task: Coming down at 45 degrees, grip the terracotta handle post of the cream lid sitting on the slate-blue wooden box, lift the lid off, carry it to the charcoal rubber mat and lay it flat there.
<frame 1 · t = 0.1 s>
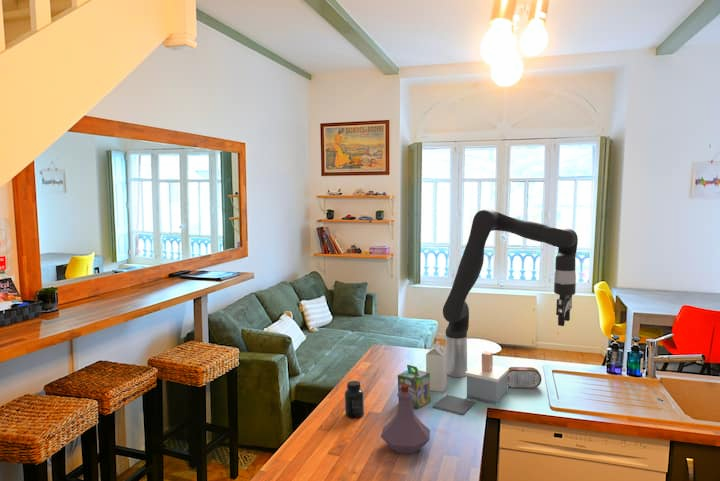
hand: (563, 323, 186), 29 cm above the kitchen counter, tool pointing down, fingers open, 8 cm apart
box: (487, 395, 191), on the kitchen counter
flask: (405, 447, 154), on the kitchen counter
green handled carton: (414, 402, 186), on the kitchen counter
supplement bottle: (354, 415, 177), on the kitchen counter
milk carton: (436, 388, 199), on the kitchen counter
tin: (522, 388, 198), on the kitchen counter
mat: (454, 405, 183), on the kitchen counter
lid: (487, 373, 190), point 9 cm above the kitchen counter, touching box
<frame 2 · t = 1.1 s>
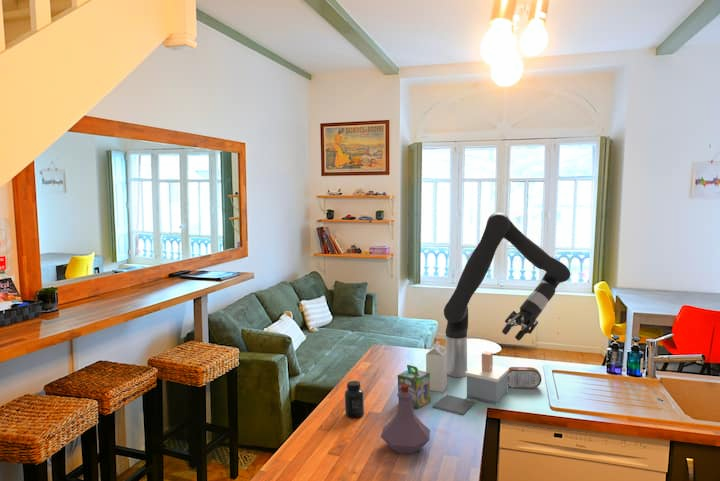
hand: (510, 336, 192), 23 cm above the kitchen counter, tool tilted 45°, fingers open, 8 cm apart
nothing on the kitchen counter moved.
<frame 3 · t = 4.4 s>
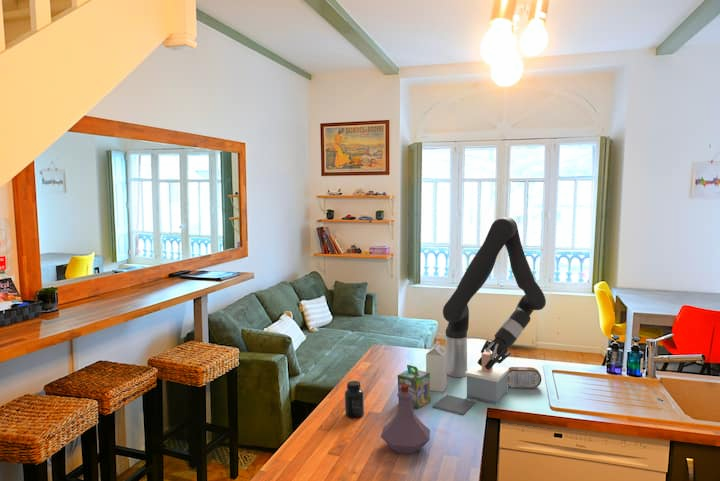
hand: (483, 366, 189), 12 cm above the kitchen counter, tool tilted 45°, fingers closed on lid, 4 cm apart
lid: (487, 373, 190), point 9 cm above the kitchen counter, touching box, gripper
everything else where it was.
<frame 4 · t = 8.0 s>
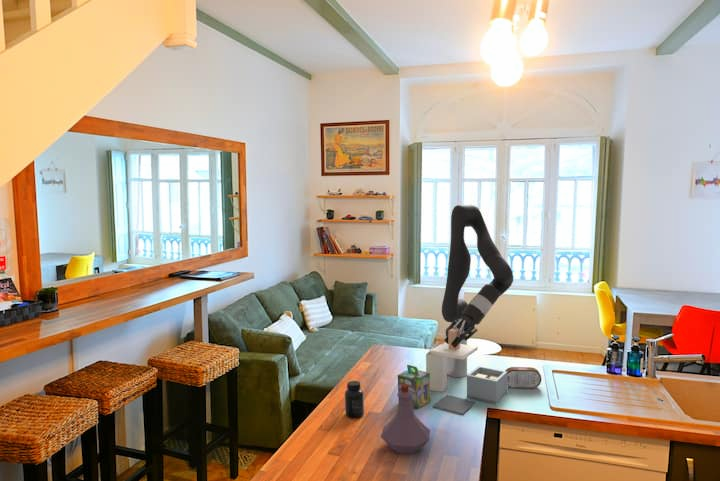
hand: (449, 344, 180), 24 cm above the kitchen counter, tool tilted 45°, fingers closed on lid, 4 cm apart
lid: (454, 351, 181), point 21 cm above the kitchen counter, touching gripper
everything else where it was.
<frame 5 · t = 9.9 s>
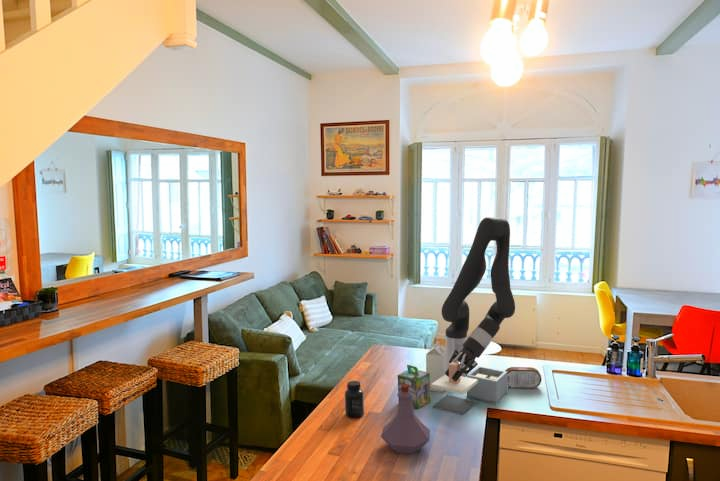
hand: (450, 377, 181), 11 cm above the kitchen counter, tool tilted 45°, fingers closed on lid, 4 cm apart
lid: (454, 384, 182), point 8 cm above the kitchen counter, touching gripper
everything else where it was.
when the fingers open (5 cm above the kitchen counter, at t = 11.6 s): lid drops 1 cm, resting on mat.
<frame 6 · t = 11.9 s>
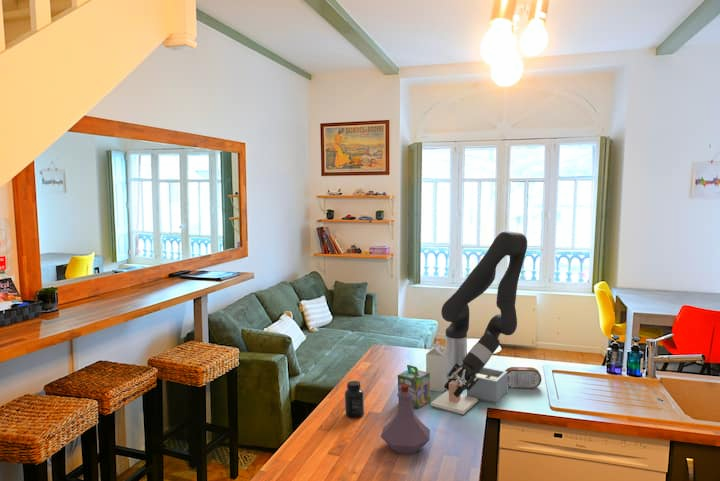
hand: (450, 392, 182), 5 cm above the kitchen counter, tool tilted 45°, fingers open, 6 cm apart
lid: (454, 403, 183), point 1 cm above the kitchen counter, touching mat
everything else where it was.
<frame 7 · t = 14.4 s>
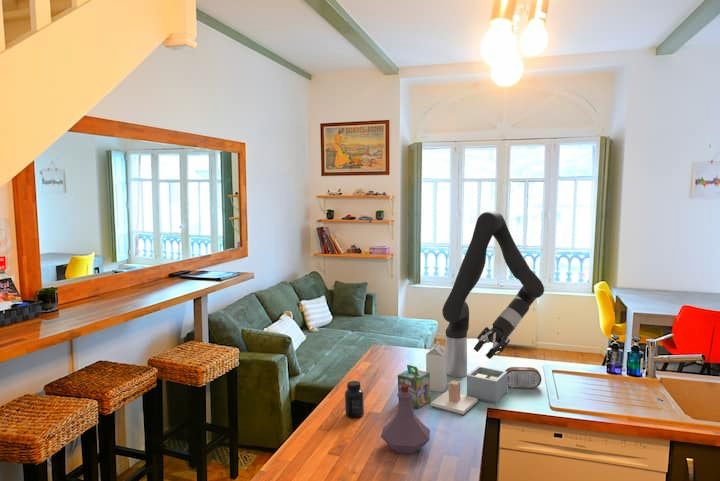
hand: (481, 353, 186), 18 cm above the kitchen counter, tool tilted 45°, fingers open, 8 cm apart
nothing on the kitchen counter moved.
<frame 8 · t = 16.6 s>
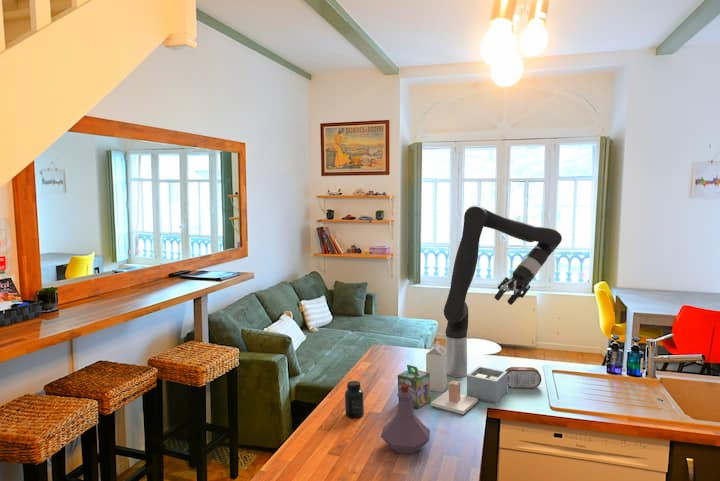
hand: (502, 301, 192), 37 cm above the kitchen counter, tool tilted 45°, fingers open, 8 cm apart
nothing on the kitchen counter moved.
at the end: lid inside the target area on the mat (0.1 cm from its centre), point 0.6 cm above the mat's base; lid tilted 0°; the gripper is holding nothing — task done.
